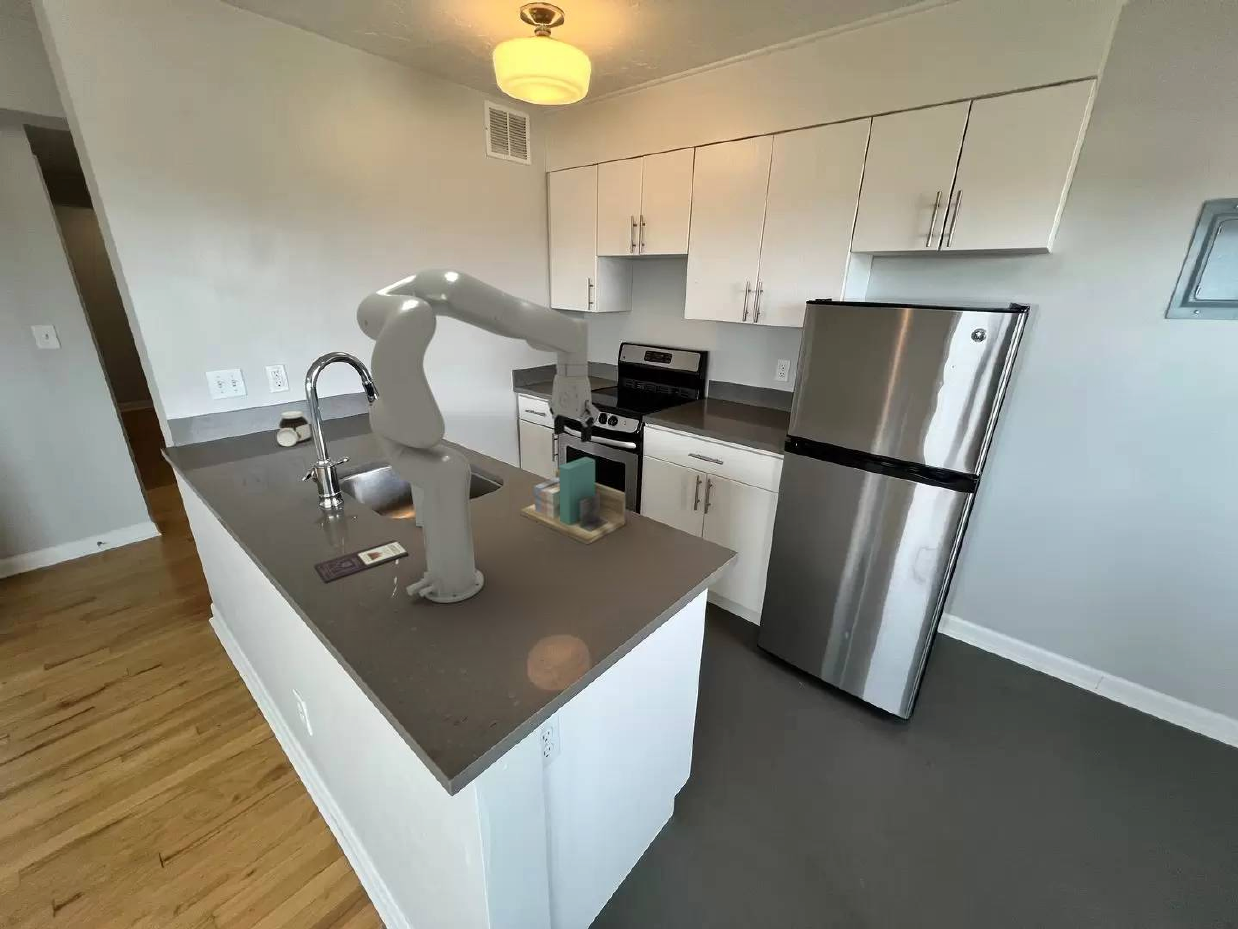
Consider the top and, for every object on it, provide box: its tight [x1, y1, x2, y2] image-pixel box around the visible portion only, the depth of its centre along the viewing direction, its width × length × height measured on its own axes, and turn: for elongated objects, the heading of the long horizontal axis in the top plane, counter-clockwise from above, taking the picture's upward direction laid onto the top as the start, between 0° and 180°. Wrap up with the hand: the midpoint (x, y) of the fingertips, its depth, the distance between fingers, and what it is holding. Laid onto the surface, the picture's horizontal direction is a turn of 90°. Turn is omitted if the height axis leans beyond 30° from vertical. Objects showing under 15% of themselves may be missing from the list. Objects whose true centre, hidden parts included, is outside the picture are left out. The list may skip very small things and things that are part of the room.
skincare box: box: [410, 484, 424, 527], centre depth 135 cm, size 8×6×15 cm
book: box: [558, 456, 596, 526], centre depth 135 cm, size 10×4×16 cm, turn 140°
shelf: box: [519, 469, 626, 546], centre depth 138 cm, size 15×26×10 cm, turn 50°
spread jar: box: [276, 410, 312, 447], centre depth 198 cm, size 12×11×12 cm
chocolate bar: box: [314, 539, 409, 584], centre depth 117 cm, size 9×1×18 cm
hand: (572, 437), depth 128 cm, fingers open, 9 cm apart
